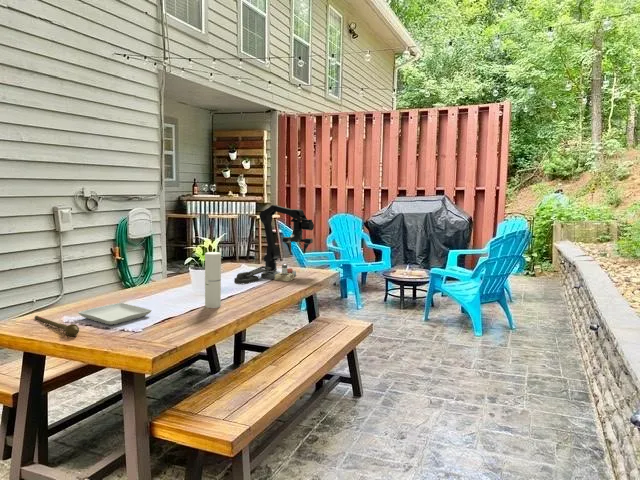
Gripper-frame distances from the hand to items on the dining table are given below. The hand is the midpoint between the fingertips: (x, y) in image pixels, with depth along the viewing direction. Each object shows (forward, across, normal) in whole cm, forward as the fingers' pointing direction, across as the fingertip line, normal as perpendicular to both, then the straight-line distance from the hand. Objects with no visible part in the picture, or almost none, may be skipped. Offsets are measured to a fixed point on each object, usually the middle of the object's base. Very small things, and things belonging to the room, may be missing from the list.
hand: (297, 253), depth 312 cm
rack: (+13, -1, -20) cm, 24 cm away
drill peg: (+13, -1, -20) cm, 24 cm away
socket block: (+13, -7, -13) cm, 20 cm away
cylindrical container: (+13, -10, -92) cm, 93 cm away
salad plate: (+14, -38, -124) cm, 130 cm away
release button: (+12, -2, -8) cm, 15 cm away
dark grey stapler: (+13, -18, -29) cm, 37 cm away
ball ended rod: (+14, -50, -144) cm, 153 cm away
